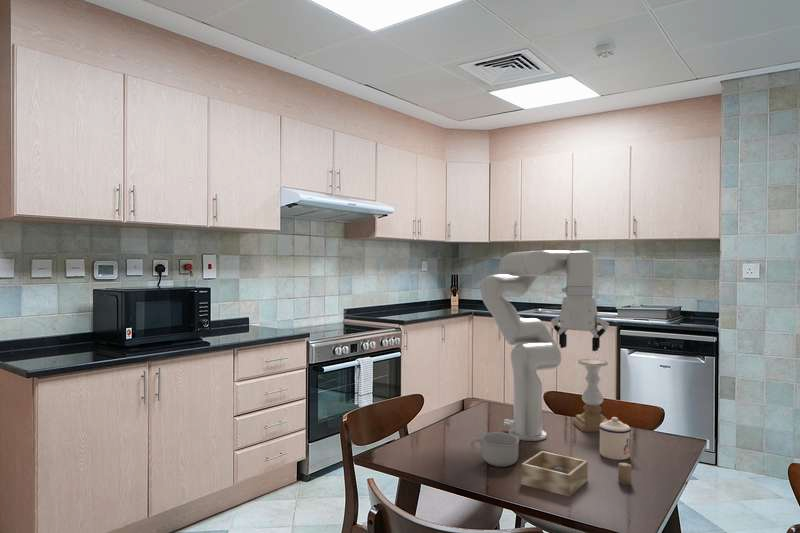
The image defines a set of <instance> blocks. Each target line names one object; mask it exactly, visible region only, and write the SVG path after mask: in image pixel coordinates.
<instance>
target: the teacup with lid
mask: <svg viewBox="0 0 800 533" xmlns="http://www.w3.org/2000/svg"><path fill="white" fill-rule="evenodd" d="M608 420H609V421H607V422H602V423H601V424H600V425H599V428H600V432H599V454H600V456H602V457H603V458H606V459H610V460H615V461H622V460H623V461H624V460H628V459H630V457H631V456H630V455H631V452H630V449H631V447H630V446H631V443H630V442H631V438H630V437H631V427H630V426H629V425H628V424H627V423H623V422H622V421H621V420H619V418H618V417H616V416H613V417H611V418H610V419H608Z"/></svg>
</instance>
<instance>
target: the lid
mask: <svg viewBox="0 0 800 533" xmlns="http://www.w3.org/2000/svg"><path fill="white" fill-rule="evenodd" d="M617 468H618V471H617V472H618V473H617V474H618V478H617V479H618V480H617V482H618V484H619V485H620V486H626V487H628V486H629V487H630V486H632V464H630V463H627V462H619V463H618V467H617Z"/></svg>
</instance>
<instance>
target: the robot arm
mask: <svg viewBox="0 0 800 533" xmlns="http://www.w3.org/2000/svg"><path fill="white" fill-rule="evenodd" d="M501 269H502V271H503V272H504V273H505V274H504V273H503V274H491V275H488V276H486V277H484V278H483V280H482V281H481V285H480V293H481V294H480V295H481V298H482V302H483V304H484V306H485V307H486V308H487V310H488V311H489V313H490V314H491V316H492V317H493V319H494V320H495V322H496V325H497V327H498V328H499V330H500V332H501V334H502V337H503V339H504V340H505V341H506V343H507V344H508V345H509V346H513V348H512V350H511V352H510V363H511V366H512V377H513V412H512V413H513V420H510V419H508V418H505V419H503V426H504V427H509V428H510V429H509V430H508V434H512V435H514V436H516V437H517V438H518V439H519V441H525V442H526V441H527V442H536V441H542V440H545V439H546V438H547V435H548V434H547V432H546V431H544V429H543V384H542V381H541V378H540V377H539V374H538V373H537V372H539V371H548V370H553V369H556V368H558V367H559V366H560V364H561V362H562V356H561V351H560V349H559V347H558V344H557V342H556V340H555V339H554V337H553V336H552V334H551V332H550V331H549V329H548V327H547V325H546V324H545V323H544V322H543V321H542V320H541V319H539V318H535V317H530V318H529V317H528V318H527V317H526V318H525V317H522V316H520V314H519V313H518V311H517V309H516V307H515V306H514V305H513V304H512V303H511V302H510V301H509V300H507V299H505V298H519V297H520V298H521V297H523V296H525V295H527V293H528V292H529V291H530V290H531V287H533V285H534V283H535V282H536V281H537V279H538V277H539V276H544V275H545V276H555V275H556V276H557V275H559V276H561V275H562V276H564V275H565V276H566V286H565V287H562V288H561V291H562V293H565V295H564V296H563V297H562V302H561V308H560V315H558V316H556V317H553V318H552V319H550V321H551V324H552V326H553V329H554V330H555V332H557V335H559V337H558V338H559V340H558V342H559V345H560V348H561V349H564V348H566V347H567V340H568V338H567V337H568V336H567V334H566V332H567V331H569V330H571V331H580V332H581V331H583V332H584V331H585V332H590V333H591V334H592V335H593V337H592V339H591V342H592V343H591V344H592V346H591V347H592V348H591V351H592V352H597V351H598V350H599V349H600V343H601V340H600V338H601V337H602V335H604V334H605V333H606V332H607V330H608V328H609V326H610V322H608V321H606V320H605V319H603V318H601V317H599V315H598V308H597V301H596V297H595V296H593V294H594V293H593V292H594V290H593V286H594V284H593V283H594V278H593V277H594V274H593V273H594V255H593V253H592V252H591V251H588V250H572V251H571V250H531V251H530V250H529V251H516V252H510V253H508V254H506V255H505V256H504V257H503V258H502V259H501ZM558 322H560V325H559V323H558ZM598 324H600V325H601V328H600V329H598Z"/></svg>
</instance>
